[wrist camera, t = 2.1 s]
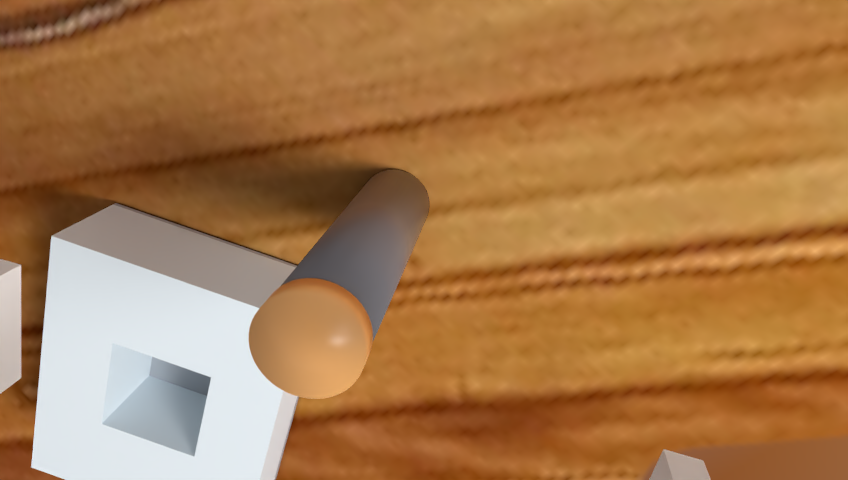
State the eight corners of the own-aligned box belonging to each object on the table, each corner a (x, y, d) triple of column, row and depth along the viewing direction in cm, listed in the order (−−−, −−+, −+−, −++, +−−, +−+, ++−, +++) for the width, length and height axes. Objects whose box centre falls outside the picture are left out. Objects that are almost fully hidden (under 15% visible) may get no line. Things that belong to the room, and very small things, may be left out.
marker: (352, 223, 32) (238, 375, 20) (370, 158, 31) (261, 275, 18) (418, 246, 32) (348, 414, 19) (439, 182, 31) (379, 316, 18)
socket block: (89, 411, 39) (31, 467, 35) (115, 202, 34) (51, 235, 29) (276, 477, 39) (242, 542, 34) (332, 277, 34) (301, 322, 29)
